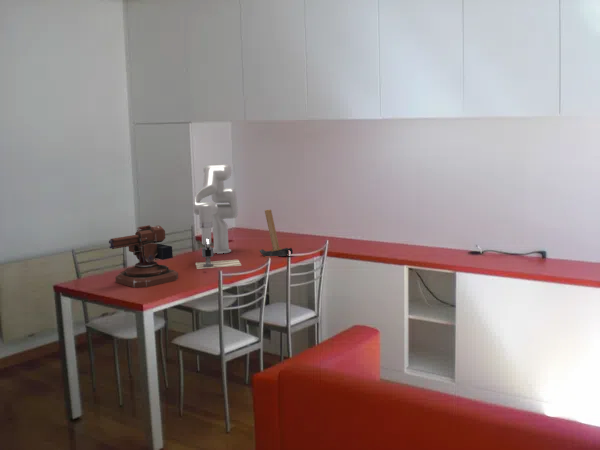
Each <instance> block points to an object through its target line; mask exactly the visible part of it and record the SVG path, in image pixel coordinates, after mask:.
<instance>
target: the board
mask: <svg viewBox="0 0 600 450" xmlns="http://www.w3.org/2000/svg"><path fill="white" fill-rule="evenodd" d="M241 263H242V262H241V261H240V260H239V259H228V260H225V259H224V260H215V261H213V260H211V257H205V261H200V262H195V267H196V269H197V270H199V269H215V268H224V267H225V268H227V267H239V266H242V264H241Z"/></svg>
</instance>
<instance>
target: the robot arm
mask: <svg viewBox="0 0 600 450" xmlns="http://www.w3.org/2000/svg"><path fill="white" fill-rule="evenodd" d="M232 171H233V170H232V166H231V165H230V164H227V163H226V164H223V163H222V164H207V165H205V166H204V167H203V173H204V175H203V184H202V188H201V189H199V190H198V192H197V193H196V194H195V195H194V199H193V204H192V205H193V206H192V210H193V213H194V214H195V215H197V216H199V217H198V218H199V219H198V220H199V221H198V222H199V229H201V244H202V245H203V247H205V248H206V247H207V248H206V250H205V256H206V257H205V258H207V257H208V256H211V249H210V247H211V245H212V238H213V248H214V251H213V254H215V253H217V255H218V254H219V255H220V254H221V255H222V254H223V253H224V254H228V253H231V252H232V249H230V247H229V230H228V228H229V227H228V223H227V222H226V220H225V219H227V220H228V219H236V218H237V217H238V215H239V211H238V210H239V209H238V197H237V191H236V189H235V188H233V187H225V185H224V184H225V183H224V181H228V180H229V179H230V178H231V176H232ZM209 196H211V199H212V200H211V201H202V200H203V199H205V198H207V197H209ZM212 232H213V233H212ZM212 234H213V235H212ZM212 236H213V237H212Z"/></svg>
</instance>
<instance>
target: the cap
mask: <svg viewBox="0 0 600 450" xmlns="http://www.w3.org/2000/svg"><path fill="white" fill-rule="evenodd" d="M206 248H207V247H206ZM206 248H205V246H203V247H201V255H202V256H201V257H202V258H207V257H206V256H205V250H206ZM210 249H211V256H208V257H210V258H211V257H214V253H213V251H214V246H210Z"/></svg>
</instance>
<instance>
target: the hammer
mask: <svg viewBox="0 0 600 450" xmlns="http://www.w3.org/2000/svg"><path fill="white" fill-rule="evenodd" d="M264 214H265V219H266V224H267V228H268V233H269V237H270V242H271V245H272V247H271V248H272V249H271V250H264V249H263V248H262V249H260V250H258V251H259V253H260V254H261V255H262V256H263V257H265V256H281V257H286V256H288V255H289V254H288V250H290V251H291V254H290V255H292V254H293V248H292V247H290V248H288V247H285V248H282V247H280V245H279V240H278V236H277V230H276V226H275V220H274V217H273V212H272V209H265V210H264ZM287 254H288V255H287Z"/></svg>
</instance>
